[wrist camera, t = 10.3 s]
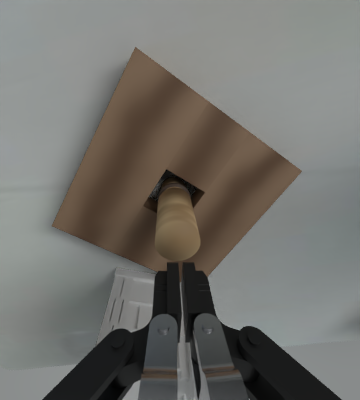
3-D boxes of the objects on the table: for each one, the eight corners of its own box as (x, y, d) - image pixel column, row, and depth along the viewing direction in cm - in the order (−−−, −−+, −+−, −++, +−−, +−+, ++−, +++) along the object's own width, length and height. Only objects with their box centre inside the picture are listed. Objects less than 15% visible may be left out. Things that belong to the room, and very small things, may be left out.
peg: (193, 183, 26) (210, 236, 16) (177, 206, 27) (184, 267, 17) (168, 169, 25) (170, 214, 15) (153, 192, 26) (145, 250, 16)
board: (287, 163, 26) (302, 171, 23) (194, 273, 32) (196, 288, 30) (139, 53, 20) (135, 46, 17) (63, 213, 27) (51, 226, 24)
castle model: (200, 280, 33) (222, 397, 20) (176, 340, 39) (180, 459, 26) (116, 267, 31) (80, 387, 18) (104, 332, 37) (70, 457, 24)
